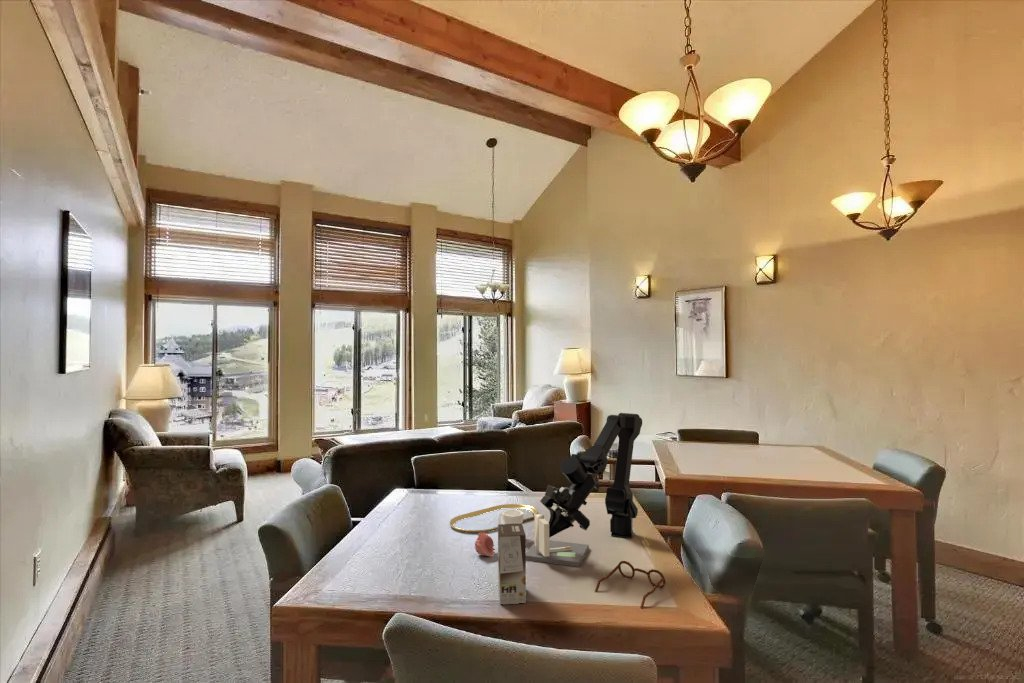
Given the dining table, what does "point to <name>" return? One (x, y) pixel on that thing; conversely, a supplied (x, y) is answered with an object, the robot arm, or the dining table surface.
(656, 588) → the glasses
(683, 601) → the dining table surface
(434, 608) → the dining table surface
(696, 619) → the dining table surface
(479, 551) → the flower
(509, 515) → the cup
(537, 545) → the tuning peg
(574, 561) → the grey board
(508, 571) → the coffee box
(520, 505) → the yellow oval loop
